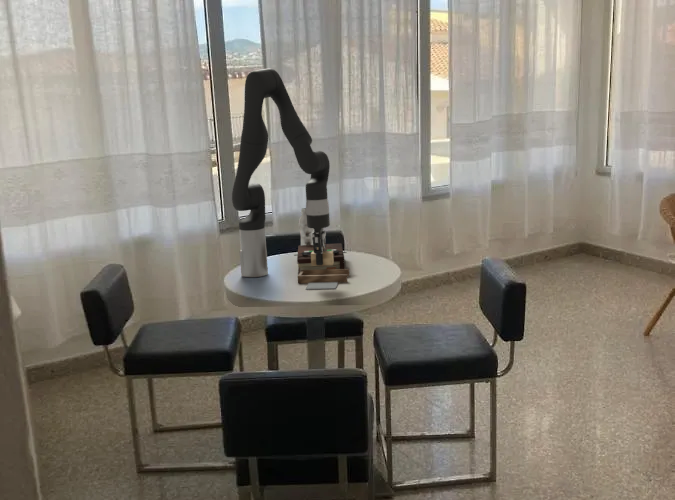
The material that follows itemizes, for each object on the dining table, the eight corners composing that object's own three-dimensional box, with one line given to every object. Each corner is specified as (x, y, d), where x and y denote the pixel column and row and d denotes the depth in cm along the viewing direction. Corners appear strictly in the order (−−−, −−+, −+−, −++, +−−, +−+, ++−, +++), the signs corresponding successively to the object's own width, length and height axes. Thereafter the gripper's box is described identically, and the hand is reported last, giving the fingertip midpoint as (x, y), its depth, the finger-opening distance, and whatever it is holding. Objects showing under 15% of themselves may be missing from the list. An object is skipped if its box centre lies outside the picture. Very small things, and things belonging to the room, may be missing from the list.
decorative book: (344, 239, 281) (347, 255, 251) (344, 258, 282) (348, 276, 253) (295, 242, 280) (293, 258, 251) (296, 261, 282) (294, 279, 252)
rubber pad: (305, 289, 236) (305, 288, 236) (309, 283, 244) (309, 282, 243) (335, 289, 235) (335, 287, 235) (338, 283, 242) (338, 281, 242)
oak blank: (311, 265, 236) (310, 253, 235) (313, 263, 240) (312, 251, 239) (332, 265, 235) (331, 253, 234) (333, 262, 239) (333, 250, 238)
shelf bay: (298, 283, 245) (297, 276, 244) (301, 276, 254) (301, 270, 253) (347, 282, 243) (346, 275, 243) (349, 275, 252) (349, 268, 251)
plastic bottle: (318, 256, 287) (315, 207, 283) (314, 260, 280) (311, 209, 276) (303, 256, 288) (300, 207, 284) (298, 260, 282) (295, 210, 278)
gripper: (326, 215, 227) (329, 268, 230) (331, 209, 240) (334, 258, 244) (303, 216, 227) (306, 268, 231) (309, 209, 241) (312, 259, 245)
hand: (320, 263), depth 237 cm, fingers closed on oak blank, 4 cm apart
